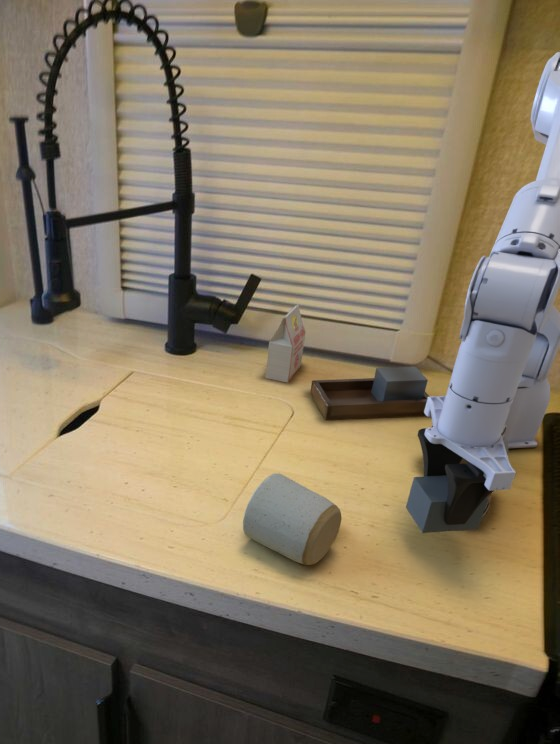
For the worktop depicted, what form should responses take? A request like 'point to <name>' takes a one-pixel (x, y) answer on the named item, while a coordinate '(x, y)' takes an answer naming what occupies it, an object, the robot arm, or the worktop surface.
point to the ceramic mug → (291, 519)
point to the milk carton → (286, 347)
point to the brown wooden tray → (373, 395)
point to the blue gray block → (436, 506)
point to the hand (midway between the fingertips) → (444, 507)
